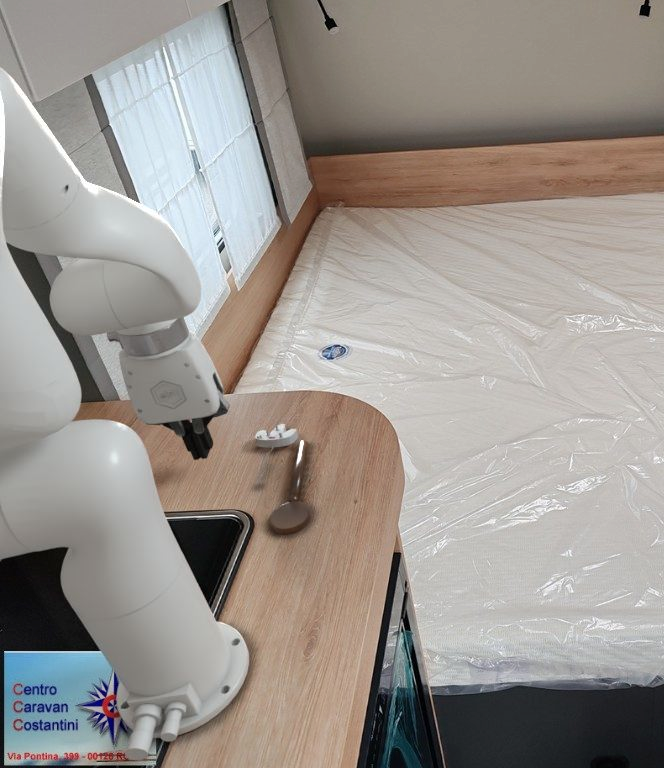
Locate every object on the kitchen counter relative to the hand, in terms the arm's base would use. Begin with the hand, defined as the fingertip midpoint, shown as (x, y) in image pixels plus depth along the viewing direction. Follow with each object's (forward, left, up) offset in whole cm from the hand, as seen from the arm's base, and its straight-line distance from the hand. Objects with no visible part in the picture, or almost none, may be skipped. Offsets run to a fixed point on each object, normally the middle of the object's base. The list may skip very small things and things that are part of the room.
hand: (203, 452), depth 101 cm
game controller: (+1, -8, -4) cm, 9 cm away
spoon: (-6, -12, -3) cm, 14 cm away
